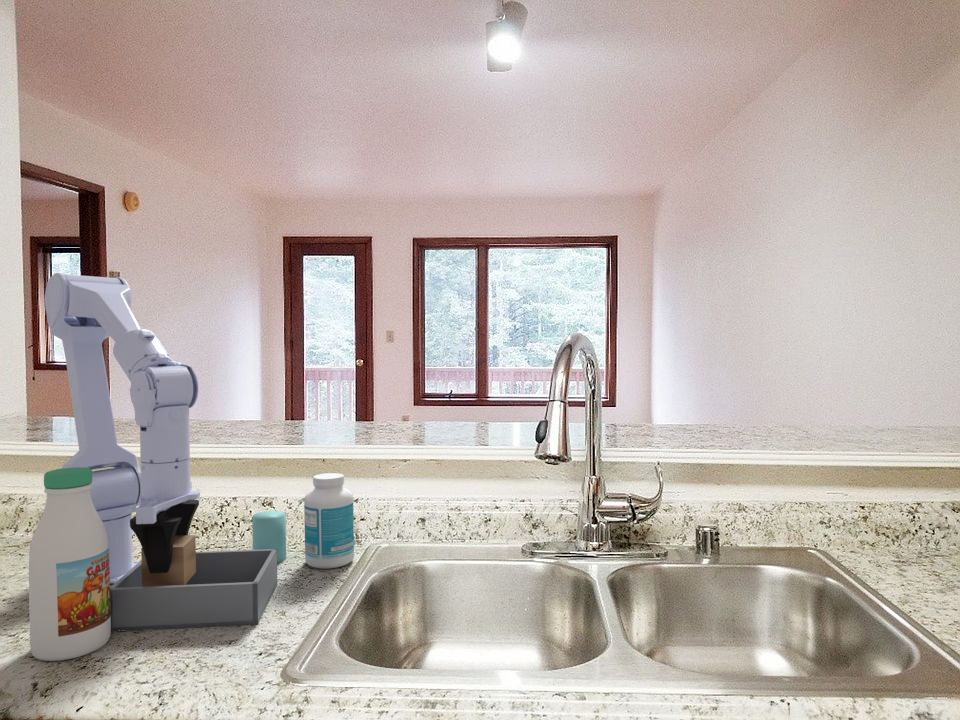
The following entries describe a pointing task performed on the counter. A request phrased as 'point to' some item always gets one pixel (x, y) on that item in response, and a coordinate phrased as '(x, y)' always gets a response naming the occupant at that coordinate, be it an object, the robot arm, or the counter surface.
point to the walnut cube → (174, 564)
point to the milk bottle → (69, 571)
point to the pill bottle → (329, 523)
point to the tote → (199, 593)
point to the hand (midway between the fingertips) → (167, 564)
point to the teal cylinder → (270, 532)
